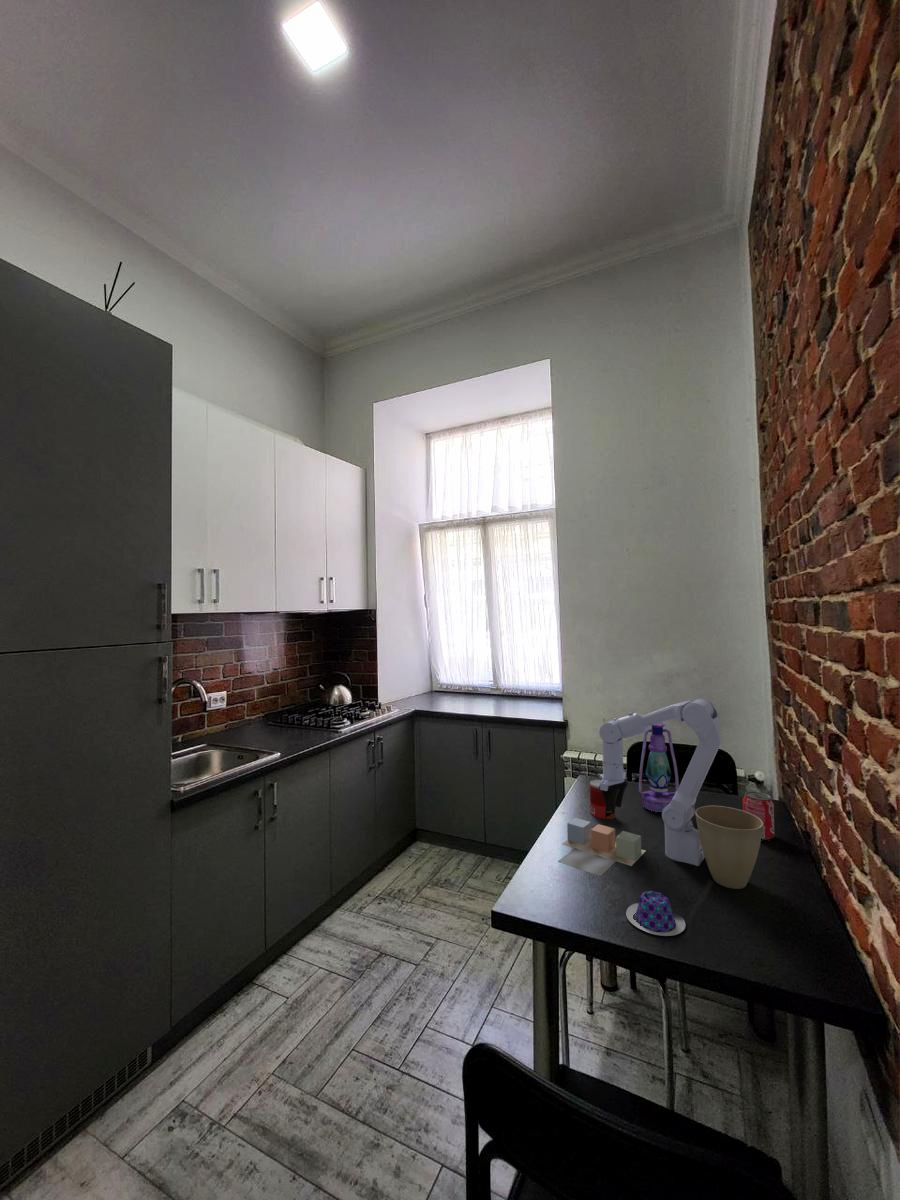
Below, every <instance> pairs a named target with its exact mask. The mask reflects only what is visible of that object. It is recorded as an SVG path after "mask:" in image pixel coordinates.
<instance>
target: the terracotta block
mask: <svg viewBox="0 0 900 1200" xmlns="http://www.w3.org/2000/svg"><path fill="white" fill-rule="evenodd" d="M615 842H616V828H614V827H610V826H606V825H602V824H599V823H598V824H596V825H595V826H594V827H592V828H591V848H594V849H597V850H600V851H603V852H606V853H609V852H610V851H611V850H612V849H613V848H614V847H615Z"/></svg>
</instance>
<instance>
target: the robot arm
mask: <svg viewBox="0 0 900 1200" xmlns="http://www.w3.org/2000/svg"><path fill="white" fill-rule="evenodd" d="M719 719H720V718H719V712H718V711H717V709H716V708H715V706H714V704H713V703H712V702H711V701H710V700H708V699H706V698H701V697H700V698H697V699H694V700H687V701H681V702H678V703H673V704H671V705H668V706H666V707H665V706H664V707H663V708H660V709H657V710H654V711H652V712H650V713H647V714H642V713H640V712H634V711H631V712H628V713H627V715H625V716H623V717H620V718H619V717H615V718H613V720H610V721H608V722H605V723H604V724H602V725H601V726H600V728H599V731H598V732H599V737H600V738H601V740H602V770H603V771H602V773H601V774H599V778H600V779H601V780H602V782H601V783H600V786H599V790H600V791H601V793H602V795H603V798H604V801H605V805H606V808H607V811H611V812H615V813H616V808H621V806H622V805H623V804H622V803H623V798H624V794H625V792H626V789H627V787H628V785H629V783H628V781H625V780H626V779H627V772H626V771H624V746H623V745H624V743H623V739H626V738H630V737H634V736H636V735H640V734H643V733H645V732H646V730H647V729H648V727H649V726H651V725H653V724H656V723H660V722H662V723H664V722H667V721H670V720H675V721H677V722H679V723H683V722H685V723H686V724H687V726H688V727H690V729H692V730H693V731H694V733H695V734H696V736H697V739H698V740H699V742H698V743H697V746H696V748H695V750H694V753H693V755H692V757H691V760H690V761H689V764H688V766H687V768H686V771H685V773H684V774H683V777H682V780H681V781H680V784H679V788H678V790H677V792H676V794H675V795H674V797H673V799H672V801H671V803H670V804H669V805H668V806H666V807H665V808H664V809H663V811H662V813H661V818H662V821H663V823H664V850H665V851H664V853H665V856H666V857H667V858H669V859H670V860H672V861H675V862H681V863H686V864H689V865H694V866H696V867H699V866H700V865H701V864H702V862H703V861H704V859H705V856H704V852H703V849H702V845H701V841H700V837H699V832H698V828H695V827H694V824H693V821H692V818H693V817H694V815H695V811H696V809H695V806H696V805H695V804H696V801H697V797H698V794H699V793H700V791H701V788H702V786H703V785H704V784H703V783H704V782H705V779H706V776H707V775H708V773H709V770H710V769H711V766H712V764H713V762H714V760H715V757H716V755H717V753H718V751H719V748H720V746H721V744H722V743H723V735H722V730H721V724H720V721H719Z"/></svg>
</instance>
